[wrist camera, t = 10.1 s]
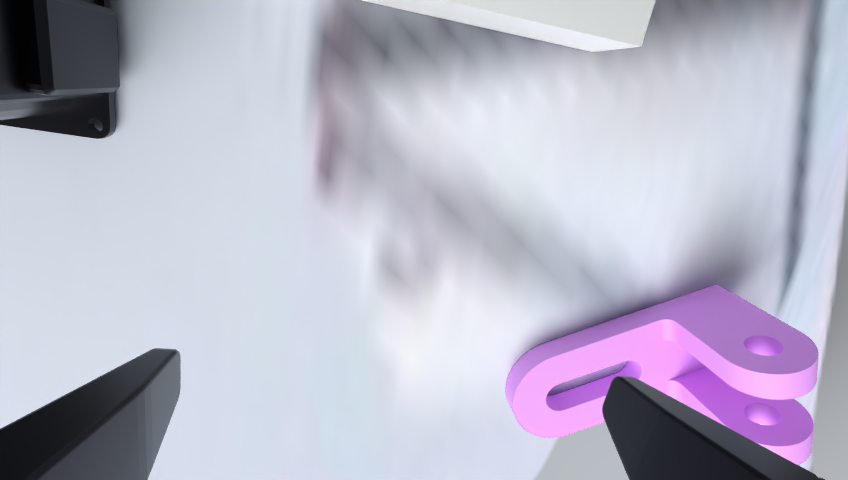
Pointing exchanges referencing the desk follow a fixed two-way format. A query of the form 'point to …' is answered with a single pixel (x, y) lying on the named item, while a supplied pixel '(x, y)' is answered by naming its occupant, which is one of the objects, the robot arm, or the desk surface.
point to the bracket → (680, 370)
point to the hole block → (547, 19)
